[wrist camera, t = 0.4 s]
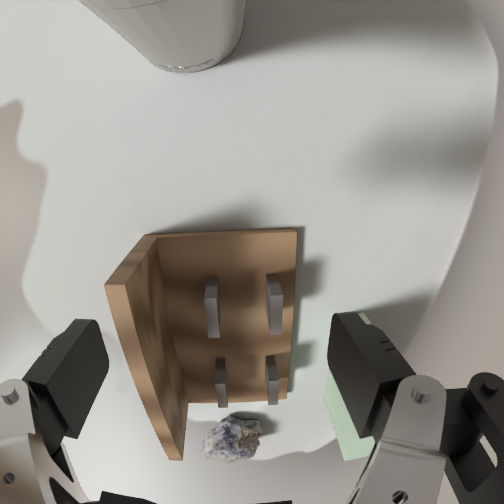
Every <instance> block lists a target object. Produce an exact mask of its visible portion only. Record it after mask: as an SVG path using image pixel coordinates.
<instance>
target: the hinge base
mask: <svg viewBox="0 0 504 504" xmlns="http://www.w3.org/2000/svg"><path fill="white" fill-rule="evenodd" d="M296 247H297V231H296V230H295V229H268V230H241V231H217V232H195V233H175V234H156V235H144V236H143V237H142V238H141V239H140V240H139V242H138V243H137V244H136V245H135V246H134V248H133V249H132V250H131V251H130V253H129V254H128V255H127V256H126V258H125V259H124V260H123V261H122V262H121V264H120V265H119V266H118V268H117V269H116V270H115V271H114V273H113V274H112V275H111V276H110V278H109V279H108V280H107V282H106V283H105V284H104V287H105V291H106V295H107V299H108V302H109V306H110V310H111V313H112V317H113V320H114V324H115V327H116V330H117V334H118V337H119V340H120V343H121V346H122V349H123V352H124V355H125V358H126V361H127V364H128V366H129V369H130V372H131V375H132V377H133V380H134V383H135V385H136V388H137V390H138V393H139V395H140V398H141V400H142V403H143V405H144V407H145V410H146V412H147V414H148V417H149V418H150V421H151V423H152V426H153V428H154V430H155V432H156V434H157V436H158V438H159V440H160V443H161V444H162V447H163V449H164V451H165V453H166V454H167V456H168V458H169V460H179V461H180V460H181V461H182V460H183V450H184V440H185V430H186V421H187V412H188V403H218V407H219V408H225V407H228V403H232V402H253V401H268V405H277V404H278V400H279V399H287V388H288V377H289V365H290V352H291V339H292V324H293V309H294V291H295V271H296Z"/></svg>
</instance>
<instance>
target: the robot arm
mask: <svg viewBox="0 0 504 504" xmlns="http://www.w3.org/2000/svg"><path fill="white" fill-rule="evenodd" d="M78 1H79V2H81V3H82V4H83V5H85V6H86V7H87V8H88V9H90V10H91V11H92V12H93V13H94V14H96V15H97V16H98V17H99V18H101V19H102V20H103V21H104V22H105V23H107V24H108V25H109V26H110V27H111V28H112V29H114V30H115V31H116V32H117V33H118V34H120V35H121V36H122V37H123V38H124V39H125V40H126V41H128V42H129V43H130V44H131V45H132V46H133V47H134V48H135V49H137V50H138V51H139V52H140V53H141V54H142V55H143V56H144V57H145V58H147V59H148V60H149V61H150V62H151V63H153V64H154V65H156V66H157V67H159V68H161V69H164V70H166V71H170V72H176V73H191V72H196V71H201V70H204V69H207V68H209V67H212V66H214V65H215V64H217V63H219V62H221V61H222V60H223V59H224V58H226V57H227V56H228V55H229V54H230V53H231V52H232V51H233V49H234V48H235V47H236V45H237V43H238V41H239V39H240V37H241V33H242V29H243V20H244V13H245V5H246V0H78ZM327 359H328V365H329V369H330V371H331V373H332V376H333V378H334V380H335V382H336V385H337V387H338V389H339V392H340V394H341V396H342V399H343V401H344V403H345V406H346V408H347V410H348V413H349V415H350V417H351V420H352V422H353V424H354V427H355V429H356V431H357V434H358V436H359V438H360V439H362V438H366V437H370V436H373V438H374V441H375V443H374V446H373V448H372V450H371V453H370V455H369V457H368V459H367V462H366V464H365V466H364V469H363V471H362V473H361V475H360V477H359V479H358V481H357V483H356V486H355V487H354V489H353V491H352V493H351V495H350V497H349V499H348V500H347V502H346V504H436V502H437V499H438V495H439V491H440V487H441V483H442V478H443V473H444V471H445V473H446V475H447V477H448V480H449V482H450V484H451V486H452V488H453V490H454V493H455V495H456V497H457V499H458V501H459V504H504V380H503V379H501V378H500V377H499V376H497V375H495V374H492V373H487V372H484V373H478V374H476V375H474V376H473V377H472V378H471V380H470V382H469V384H468V386H467V388H459V389H445V388H444V386H443V385H442V384H441V383H440V382H439V381H437V380H436V379H434V378H432V377H429V376H425V375H416V373H415V372H414V371H413V369H412V368H411V367H410V365H409V364H408V363H407V362H406V360H405V359H404V358H403V356H402V355H401V354H400V352H399V351H398V350H396V347H395V346H394V345H393V344H392V342H390V340H389V338H388V337H387V336H386V335H385V333H384V332H383V331H382V330H380V329H378V328H377V327H375V326H374V325H372V324H365V322H364V321H363V320H362V318H361V317H360V316H359V314H358V313H357V312H355V311H354V312H344V313H335V314H334V315H333V317H332V321H331V329H330V337H329V344H328V352H327ZM108 369H109V358H108V354H107V351H106V348H105V345H104V341H103V338H102V335H101V331H100V328H99V325H98V323H97V321H96V320H91V319H75V320H74V321H73V322H72V323H71V324H70V326H69V327H68V328H67V329H66V330H65V332H63V333H61V334H60V335H58V336H57V337H55V338H54V339H53V340H52V341H51V342H50V344H49V345H48V346H47V349H45V350H44V351H43V352H42V354H41V356H39V358H38V359H37V360H36V361H35V363H34V364H33V365H32V367H31V368H30V369H29V371H28V372H27V373H26V374H25V376H24V377H23V378H22V380H19V379H10V380H7V381H5V382H3V383H1V384H0V504H156V503H153V502H151V501H148V500H145V499H141V498H135V497H129V496H123V495H119V494H114V493H109V492H105V491H102V493H101V497H100V500H99V501H91V502H90V501H89V499H88V498H87V497H86V495H85V494H84V492H83V490H82V489H81V486H80V484H79V482H78V480H77V477H76V475H75V472H74V470H73V467H72V465H71V462H70V459H69V456H68V454H67V451H66V448H65V446H64V444H63V443H62V439H63V437H64V436H67V437H71V438H75V439H78V436H79V434H80V432H81V429H82V427H83V425H84V423H85V420H86V418H87V416H88V414H89V411H90V409H91V407H92V405H93V402H94V400H95V398H96V396H97V394H98V392H99V390H100V388H101V385H102V383H103V381H104V379H105V377H106V375H107V373H108ZM483 435H484V436H485V437H486V438H487V440H488V442H489V443H490V445H491V447H492V448H493V449H494V451H495V453H496V455H497V460H498V462H497V467H496V468H495V466H494V464H493V463H492V461H491V459H490V457H489V456H488V454H487V453H486V451H485V449H484V448H483V446H482V444H481V443H480V441H479V440H480V439H481V438H482V436H483ZM259 504H292V501H291V500H290V501H281V502H271V503H259Z"/></svg>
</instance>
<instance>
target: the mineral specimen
mask: <svg viewBox="0 0 504 504" xmlns="http://www.w3.org/2000/svg"><path fill="white" fill-rule="evenodd" d="M259 435H262V427H261V424H260V422H259V420H239V419H237V418H235V417H232V416H228V417H227V418H226V419H222V420H221V421H220V423H219V425H218V426H217V427H215V428H214V429H212V430H211V431H210V432H209V433H207V435H205V437H204V440H203V442H202V454H203V456H205V457H206V458H207V459H211V460H216V461H218V462H225V463H229V462H233V461H238V460H242V459H248V458H251V457H253V456H254V455H255V452H256V449H257V447H258V446H259V444H260V443H259V440H258V438H259V437H257V436H259Z"/></svg>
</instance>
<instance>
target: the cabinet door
mask: <svg viewBox="0 0 504 504" xmlns="http://www.w3.org/2000/svg"><path fill="white" fill-rule="evenodd" d="M358 314H359V316H360V317H361V318H362V320H363V321H364V322H365V324H371V322H370V321H369V319H368V318H367V316H366V315H365V313H364V312H362V313H358ZM324 400H325V403H326V406H327V409H328V412H329V415H330V418H331V421H332V424H333V427H334V430H335V433H336V436H337V439H338V442H339V446H340V449H341V452H342V455H343V458H344V461H347V460H352V459H356V458H360V457H364V456H368V455H369V453H370V451H371V450H372V448H373V446H374V443H375V441H374V438H373V436H370V437H366V438H362V439H360V438H359V436H358V434H357V431H356V429H355V427H354V424H353V422H352V420H351V417H350V415H349V413H348V410H347V408H346V406H345V403H344V401H343V399H342V396H341V394H340V392H339V389H338V387H337V385H336V382H335V380H334V378H333V376H332V373H331V371H329V375H328V380H327V385H326V389H325V394H324Z"/></svg>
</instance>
